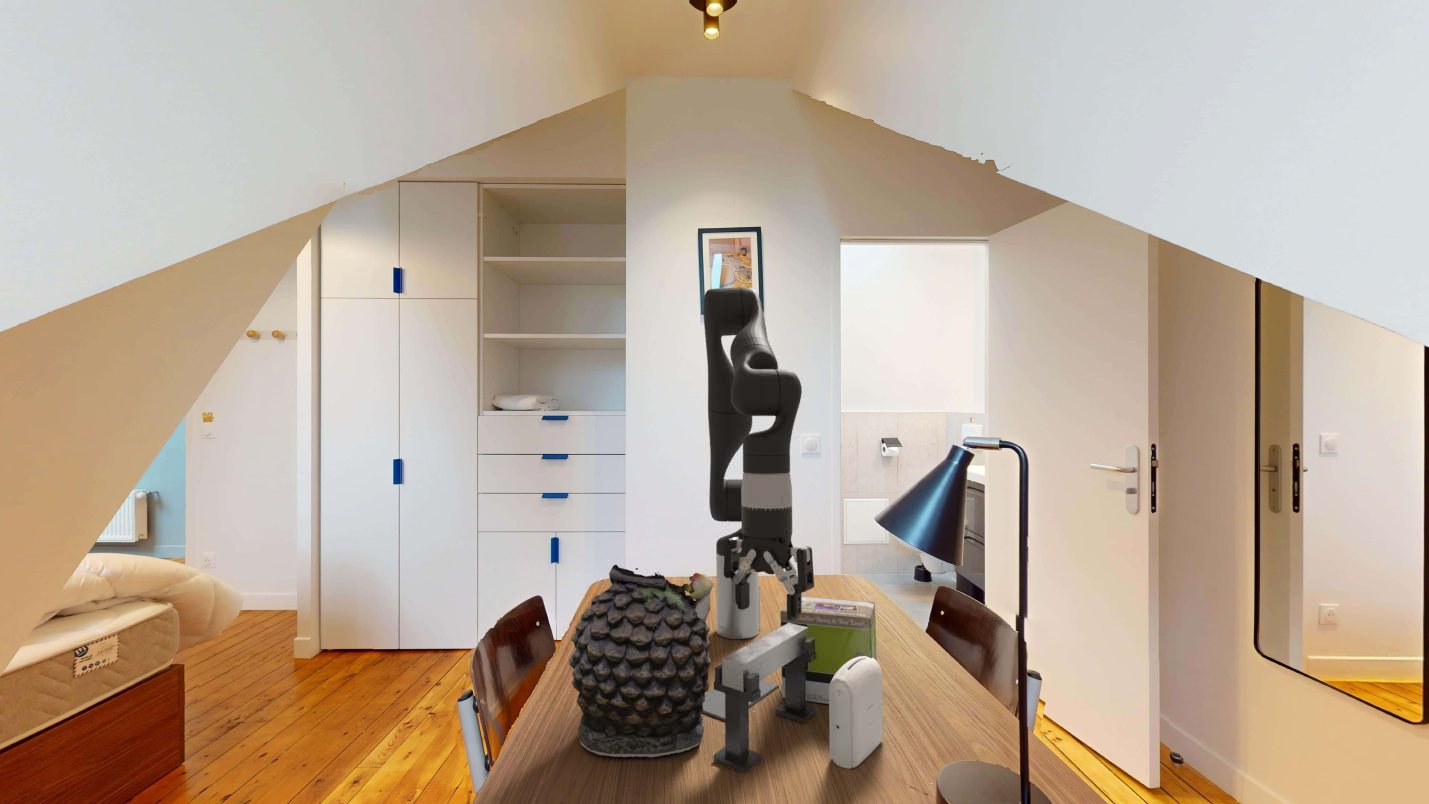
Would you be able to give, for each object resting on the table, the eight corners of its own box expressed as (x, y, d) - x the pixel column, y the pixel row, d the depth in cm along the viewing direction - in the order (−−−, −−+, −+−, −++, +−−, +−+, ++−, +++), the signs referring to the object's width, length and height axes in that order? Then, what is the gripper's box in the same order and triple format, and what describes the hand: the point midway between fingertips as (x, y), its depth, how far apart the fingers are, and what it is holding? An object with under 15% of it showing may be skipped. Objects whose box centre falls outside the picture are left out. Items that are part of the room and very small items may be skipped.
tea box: (877, 686, 102) (876, 600, 102) (873, 713, 92) (872, 618, 93) (792, 674, 107) (791, 592, 107) (780, 699, 97) (779, 609, 98)
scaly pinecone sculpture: (712, 712, 92) (712, 553, 93) (714, 768, 77) (714, 578, 78) (580, 714, 92) (581, 554, 93) (556, 771, 77) (557, 579, 78)
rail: (788, 644, 94) (788, 622, 94) (808, 649, 92) (807, 627, 92) (722, 684, 80) (722, 658, 80) (743, 691, 78) (743, 665, 78)
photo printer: (854, 774, 76) (853, 677, 77) (825, 761, 79) (824, 668, 79) (887, 741, 84) (886, 653, 85) (859, 731, 87) (858, 646, 87)
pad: (740, 674, 106) (740, 672, 106) (778, 686, 101) (778, 684, 101) (687, 706, 94) (687, 704, 94) (727, 722, 89) (727, 719, 89)
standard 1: (726, 746, 83) (726, 660, 83) (765, 762, 79) (764, 671, 79) (709, 759, 80) (709, 669, 80) (748, 776, 76) (748, 682, 76)
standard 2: (784, 703, 96) (783, 628, 96) (820, 714, 92) (819, 637, 92) (771, 712, 92) (771, 635, 93) (807, 725, 88) (807, 644, 89)
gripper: (821, 504, 86) (822, 616, 85) (741, 497, 94) (742, 599, 94) (796, 509, 80) (797, 630, 79) (713, 502, 88) (713, 611, 88)
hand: (767, 613), depth 86 cm, fingers open, 8 cm apart
